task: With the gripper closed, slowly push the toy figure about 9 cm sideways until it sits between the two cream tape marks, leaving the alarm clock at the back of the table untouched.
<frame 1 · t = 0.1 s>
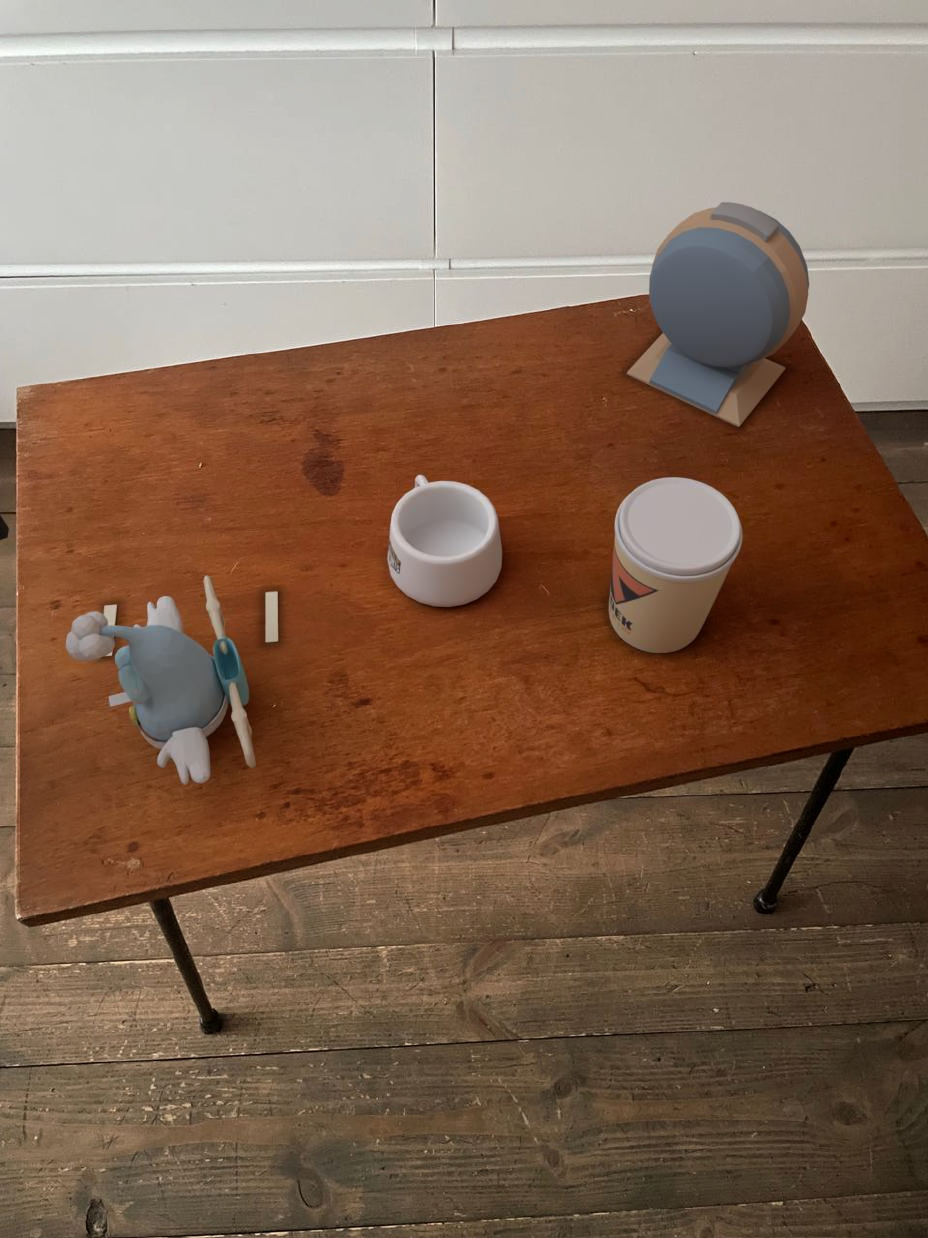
tape marks: (190, 623, 87), on the table
coffee cup: (654, 616, 88), on the table
mug: (440, 556, 91), on the table
toy figure: (186, 721, 82), on the table
alarm clock: (705, 373, 104), on the table
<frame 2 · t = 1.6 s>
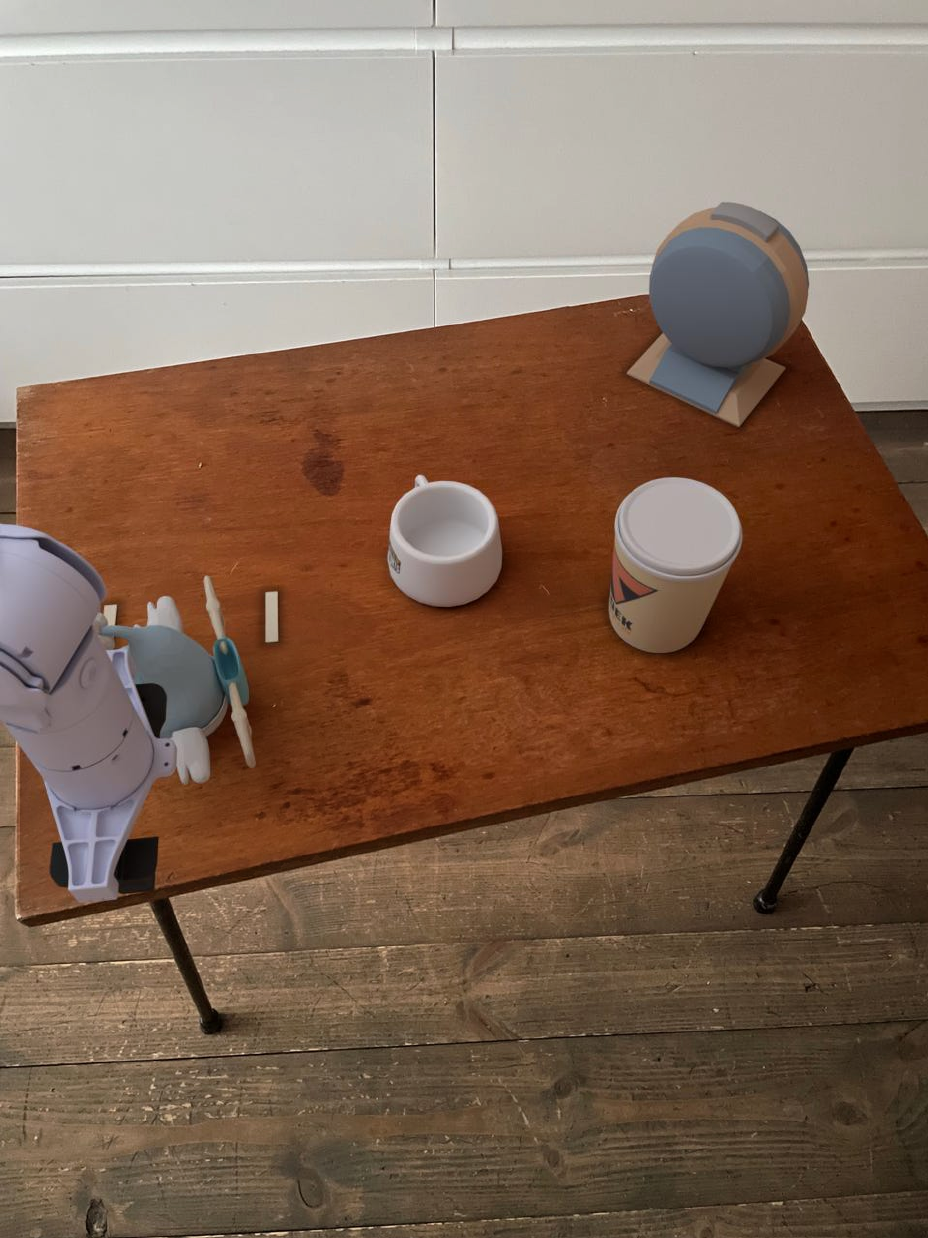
hand: (141, 828, 65), 10 cm above the table, tool pointing down, fingers open, 7 cm apart
nothing on the table moved.
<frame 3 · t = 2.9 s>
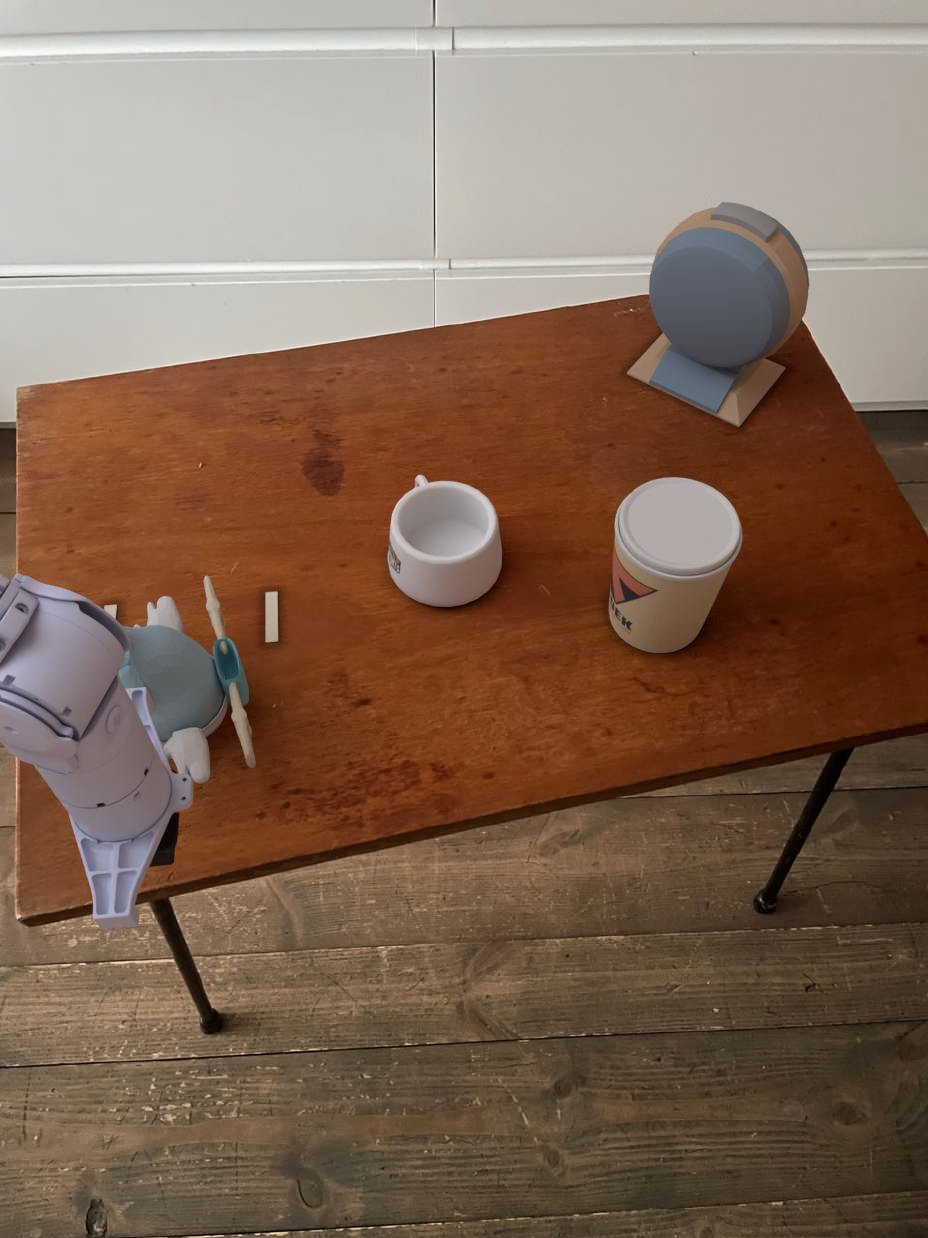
hand: (158, 856, 69), 6 cm above the table, tool pointing down, fingers closed
nothing on the table moved.
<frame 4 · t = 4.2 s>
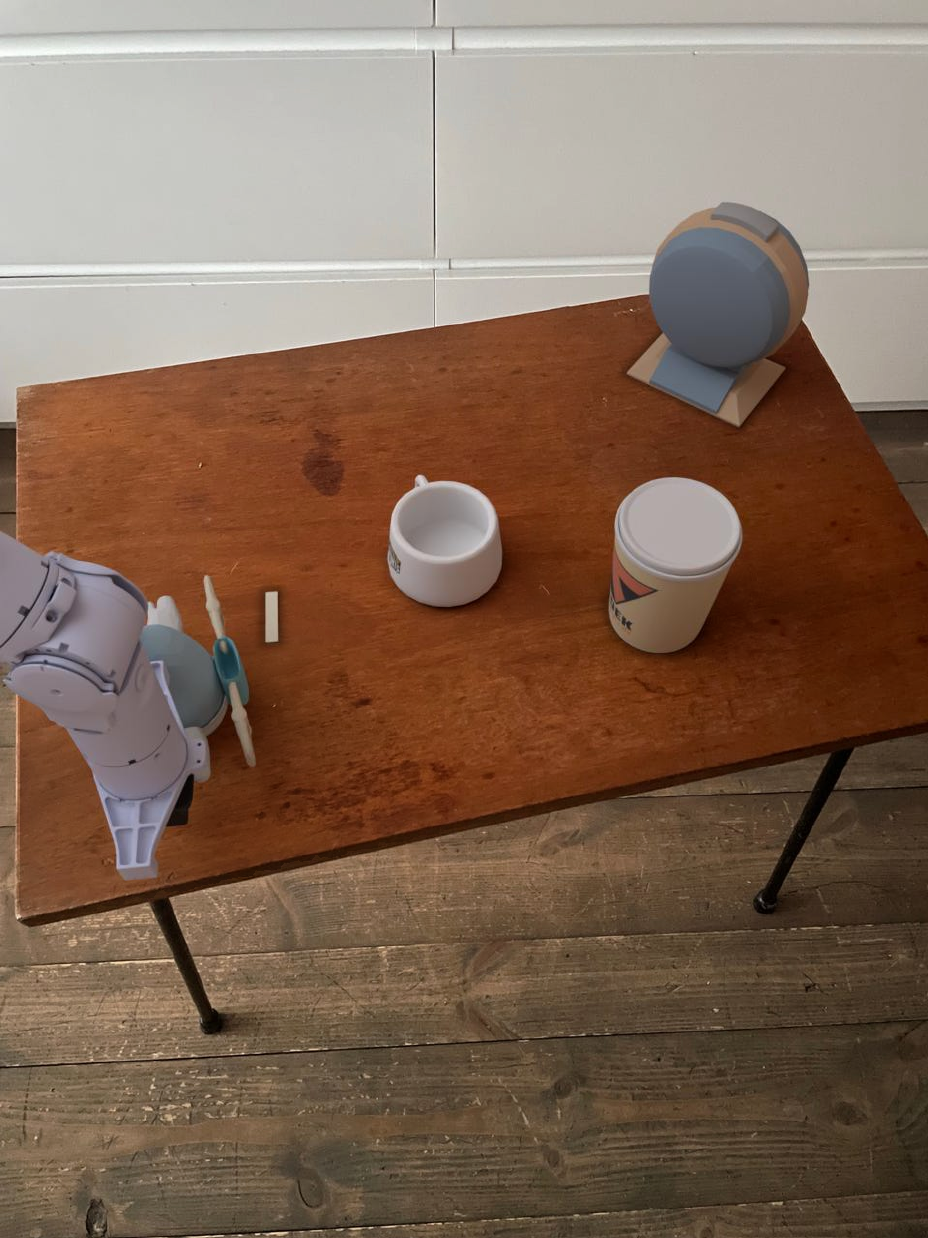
hand: (173, 818, 74), 2 cm above the table, tool pointing down, fingers closed
toy figure: (186, 721, 82), on the table, touching gripper
everything else where it was.
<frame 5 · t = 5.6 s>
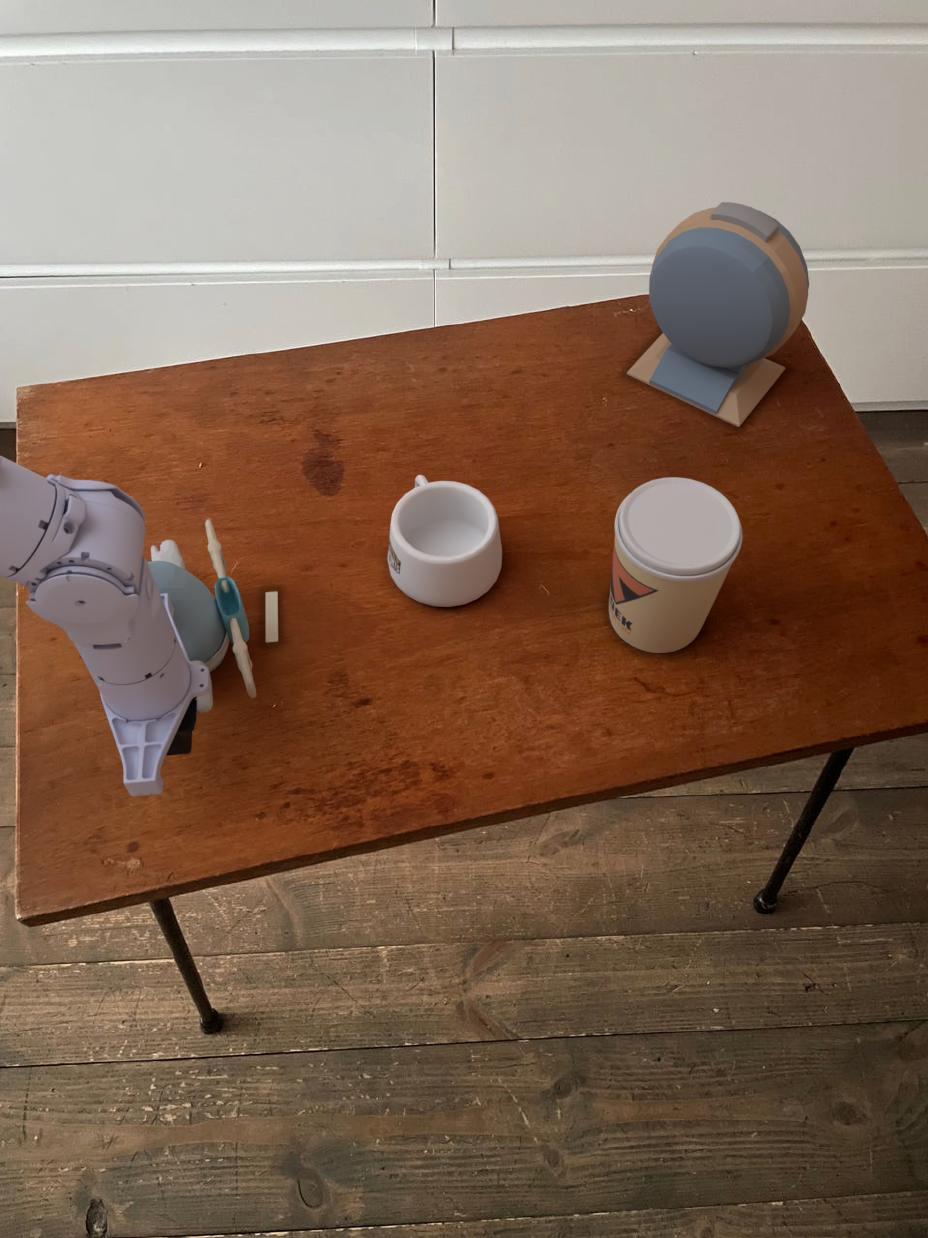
hand: (177, 747, 77), 2 cm above the table, tool pointing down, fingers closed
toy figure: (189, 660, 85), on the table, touching gripper
everything else where it was.
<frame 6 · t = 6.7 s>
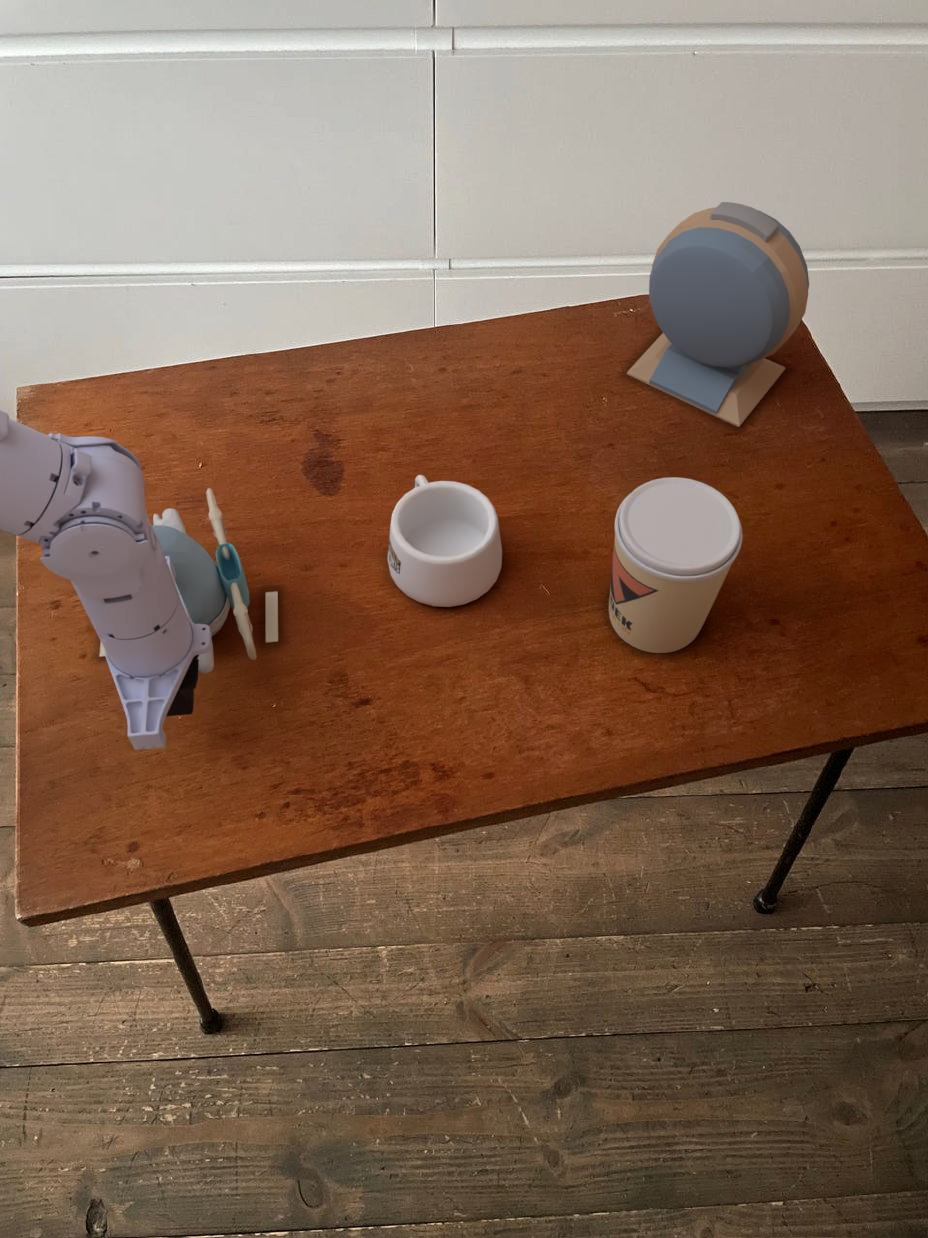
hand: (179, 708, 79), 2 cm above the table, tool pointing down, fingers closed
toy figure: (190, 626, 87), on the table, touching gripper
everything else where it was.
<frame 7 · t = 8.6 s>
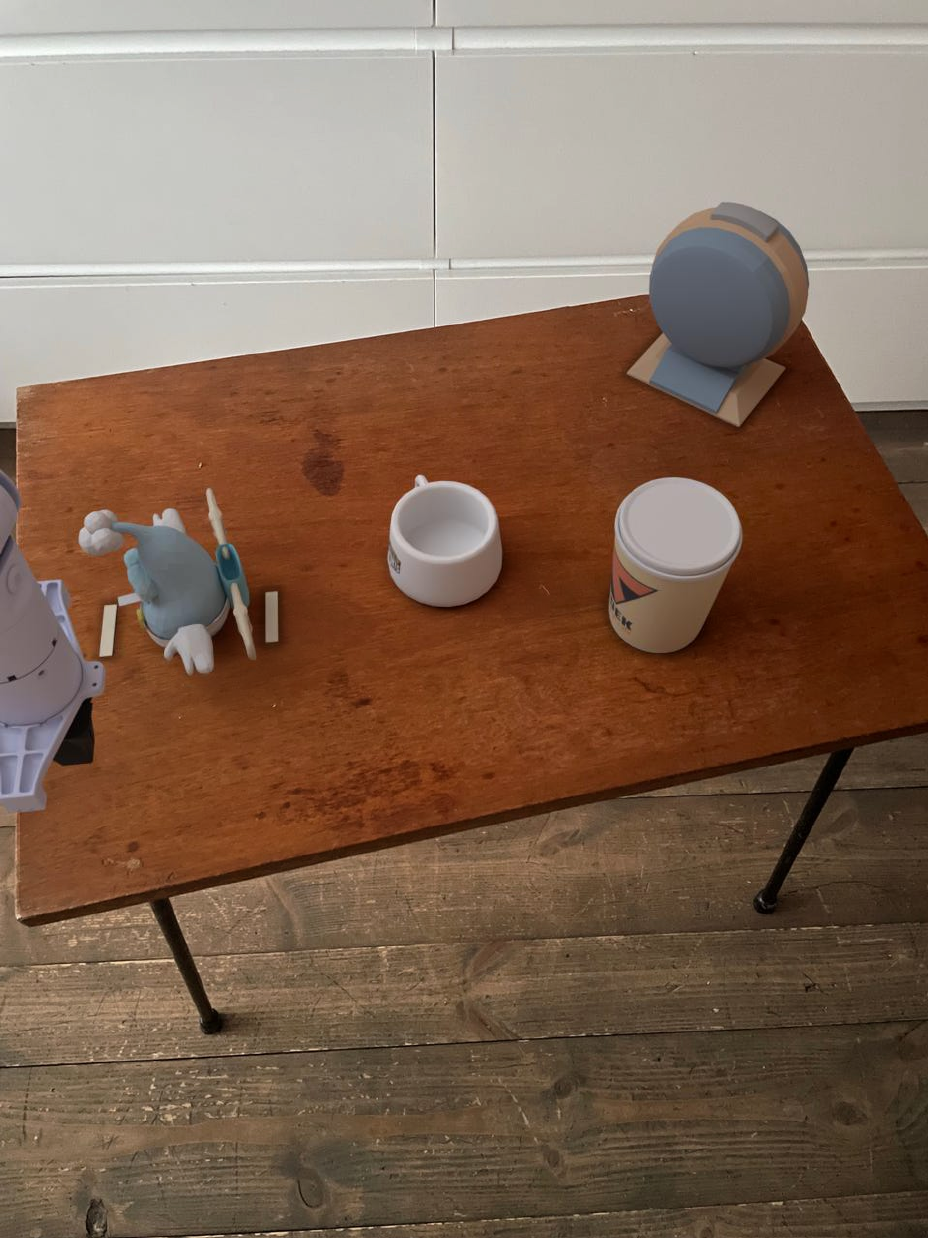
hand: (77, 755, 68), 10 cm above the table, tool pointing down, fingers closed
toy figure: (190, 626, 87), on the table
everything else where it was.
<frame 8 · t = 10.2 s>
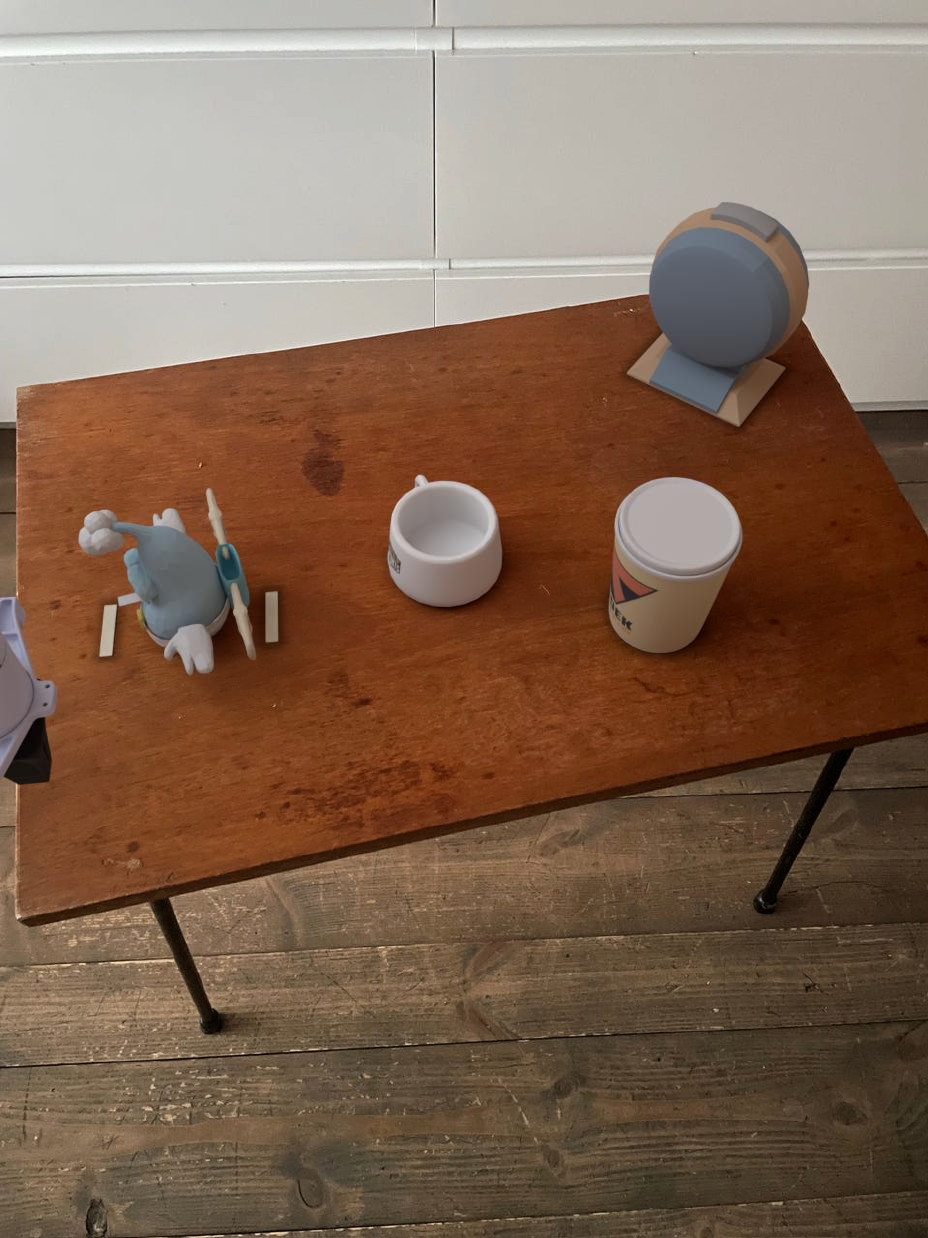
hand: (34, 773, 67), 10 cm above the table, tool pointing down, fingers closed
nothing on the table moved.
at the end: toy figure inside the target area (0.3 cm from its centre), on the table; toy figure tilted 0°; alarm clock moved 0.2 cm from its start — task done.
